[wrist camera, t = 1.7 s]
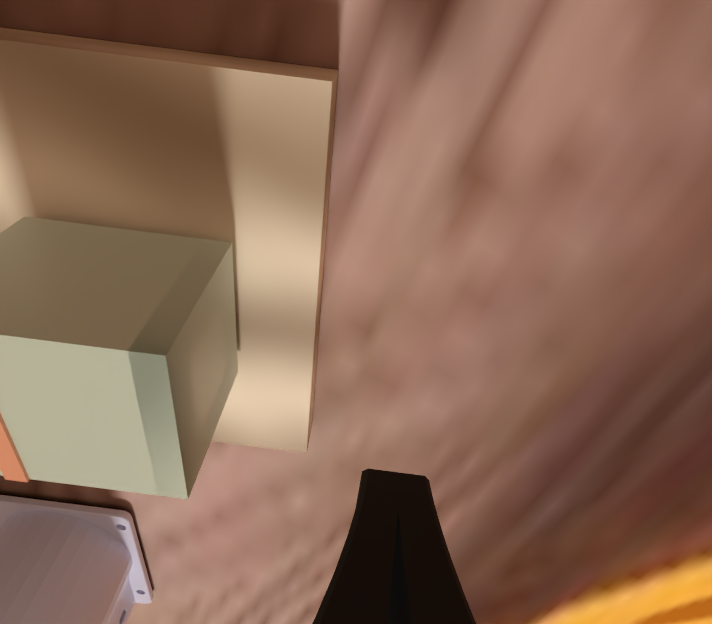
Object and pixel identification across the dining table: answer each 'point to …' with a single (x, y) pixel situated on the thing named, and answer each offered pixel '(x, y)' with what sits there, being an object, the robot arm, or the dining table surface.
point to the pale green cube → (112, 355)
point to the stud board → (188, 186)
